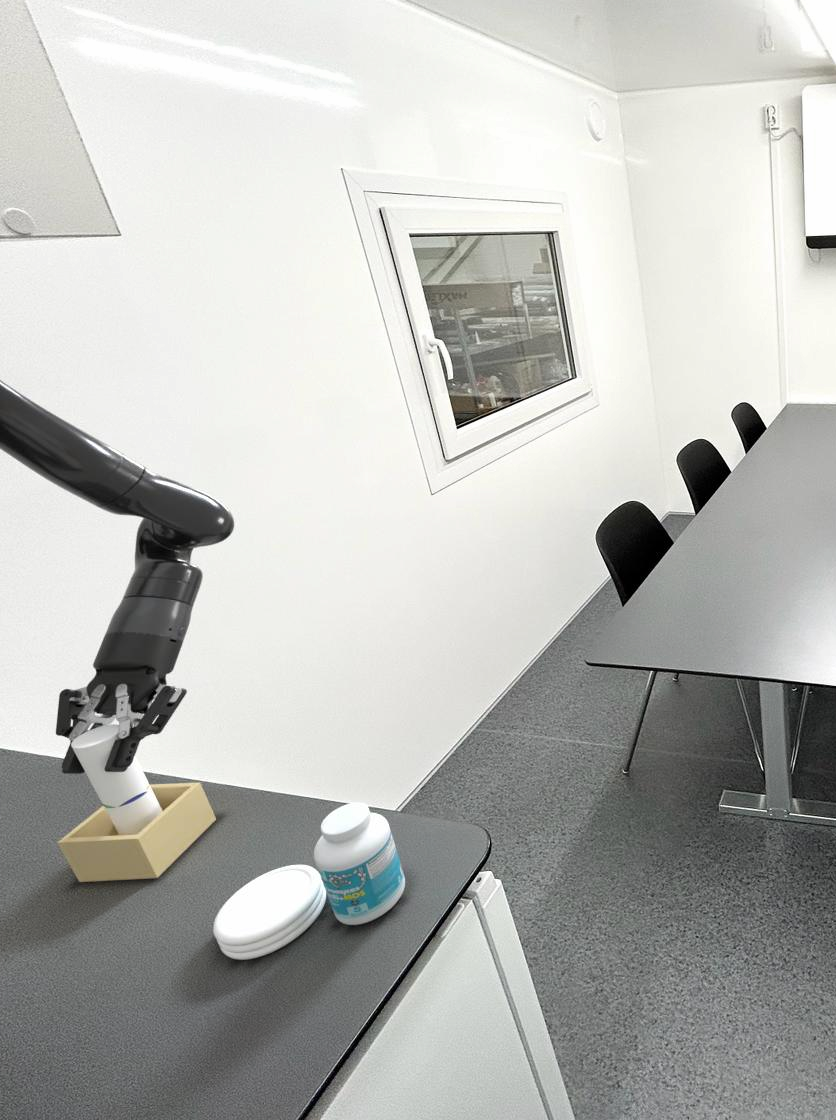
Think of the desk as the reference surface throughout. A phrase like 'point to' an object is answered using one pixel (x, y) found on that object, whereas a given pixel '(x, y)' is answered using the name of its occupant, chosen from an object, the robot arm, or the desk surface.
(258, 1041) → the desk surface
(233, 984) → the desk surface
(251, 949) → the white round stack
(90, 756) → the tube
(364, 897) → the pill bottle
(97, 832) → the bin
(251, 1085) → the desk surface
